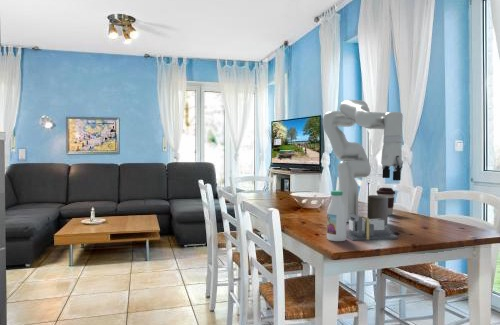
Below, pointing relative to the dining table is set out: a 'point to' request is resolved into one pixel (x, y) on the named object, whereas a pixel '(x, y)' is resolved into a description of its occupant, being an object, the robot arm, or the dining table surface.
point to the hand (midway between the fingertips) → (391, 179)
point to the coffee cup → (390, 195)
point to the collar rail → (368, 231)
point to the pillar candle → (378, 207)
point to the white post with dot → (377, 223)
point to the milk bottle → (336, 218)
